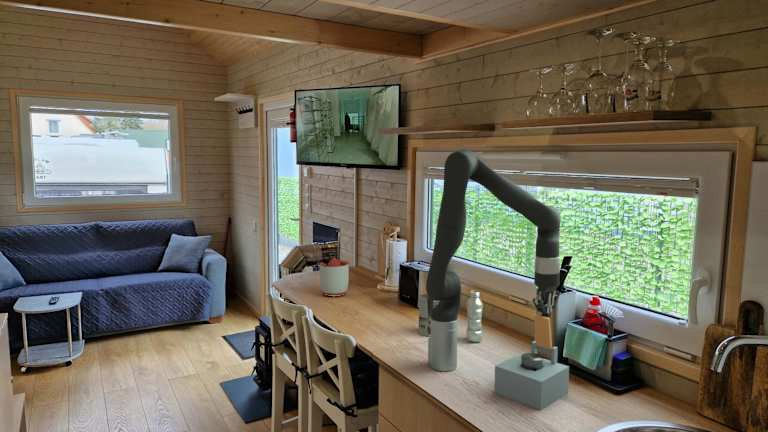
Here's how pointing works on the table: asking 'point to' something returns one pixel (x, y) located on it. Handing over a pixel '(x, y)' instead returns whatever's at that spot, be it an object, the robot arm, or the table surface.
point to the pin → (532, 361)
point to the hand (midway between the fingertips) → (545, 323)
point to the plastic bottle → (474, 317)
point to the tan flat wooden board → (543, 333)
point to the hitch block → (532, 380)
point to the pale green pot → (334, 277)
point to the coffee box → (425, 314)
